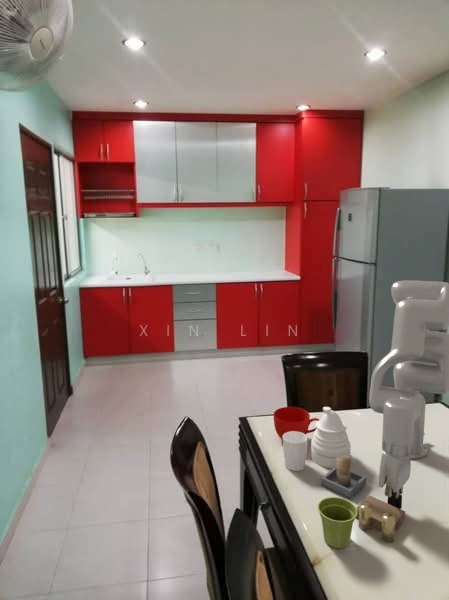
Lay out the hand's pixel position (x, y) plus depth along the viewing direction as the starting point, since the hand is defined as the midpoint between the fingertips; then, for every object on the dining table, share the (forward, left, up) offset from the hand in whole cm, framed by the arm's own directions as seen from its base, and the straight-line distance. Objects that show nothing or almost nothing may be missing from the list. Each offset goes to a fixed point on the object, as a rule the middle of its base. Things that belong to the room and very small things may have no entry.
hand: (394, 507), depth 115 cm
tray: (-1, -16, -1) cm, 16 cm away
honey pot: (-12, -27, -1) cm, 30 cm away
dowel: (-1, -16, 0) cm, 16 cm away
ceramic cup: (-14, -42, -1) cm, 44 cm away
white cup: (0, -33, -1) cm, 33 cm away
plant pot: (+20, -6, -1) cm, 21 cm away
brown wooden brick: (+6, -1, -2) cm, 6 cm away
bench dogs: (+11, 0, -1) cm, 11 cm away
